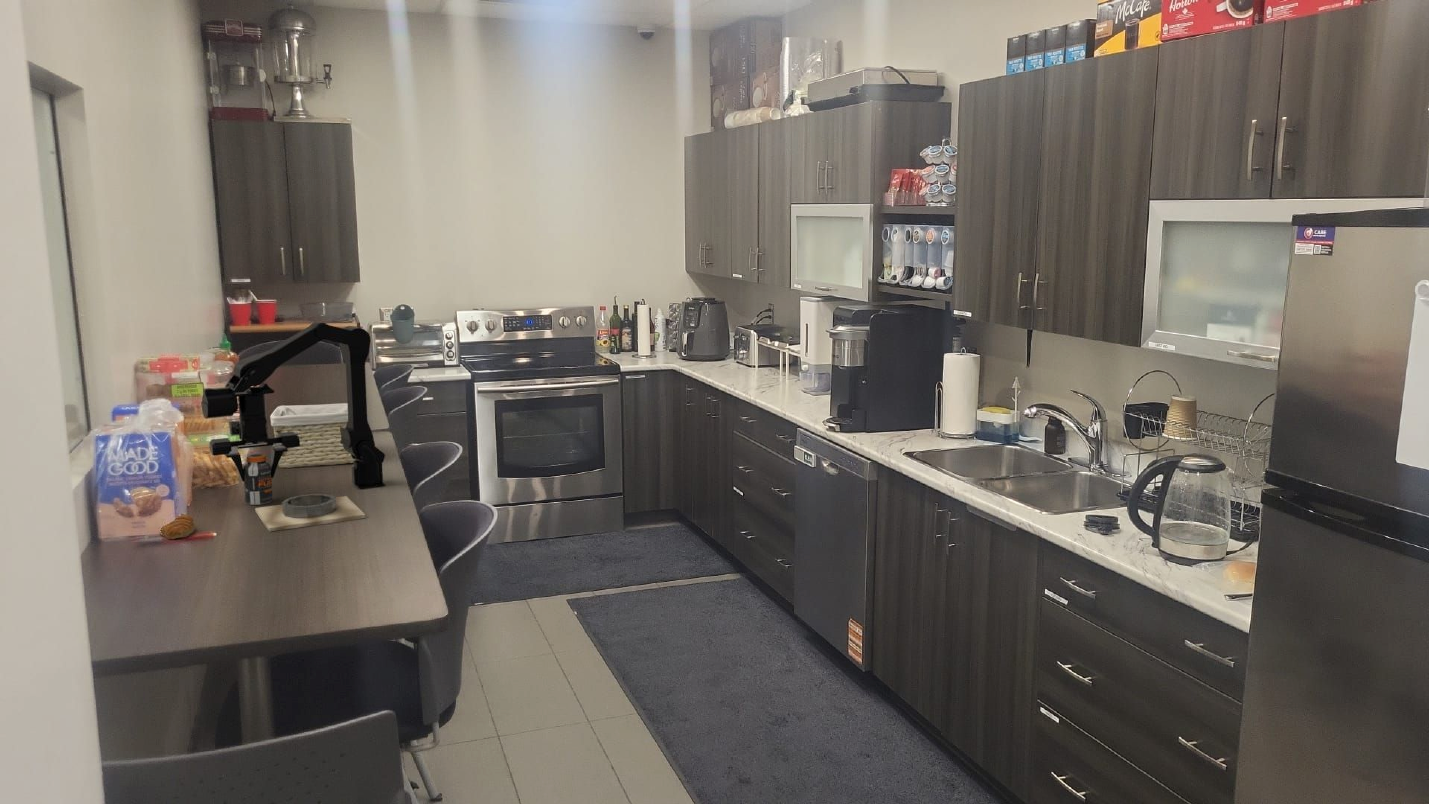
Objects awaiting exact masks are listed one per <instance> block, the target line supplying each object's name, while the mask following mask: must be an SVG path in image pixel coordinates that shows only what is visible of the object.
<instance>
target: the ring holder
mask: <svg viewBox="0 0 1429 804" xmlns="http://www.w3.org/2000/svg"><path fill="white" fill-rule="evenodd" d="M255 513H256V514H257V516H258V517H259V518H260V520H261V521H262V523H263V525H264V526H265V527H266V529H267V531H268V532H269V533H270V532H276V531H283V530H290V529H298V528H304V527H312V526H318V525H320V526H321V525H324V524H327V525H328V524H332V523H339V522H346V521H348V522H349V521H353V520H354V521H355V520H361V519H366V514H365V512H363V511H362V509H360V508H359V507H358V506H357V505H356V504H355V503H354V502H353V501H352V500H351V499H350V498H349V497H348V496H347V495H345V496H337V497H335V496H334V495H330V494H326V493H310V494H308V493H307V494H302V495H295V496H293V497H288V498H286V499H285V500H283V501H282V502H281V504H277V505H276V504H275V505H269V506H260V507H255Z"/></svg>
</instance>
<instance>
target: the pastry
mask: <svg viewBox="0 0 1429 804" xmlns="http://www.w3.org/2000/svg"><path fill="white" fill-rule="evenodd" d="M180 513H181V512H180ZM195 527H196V524H195V523H194V519H193V518H192V517H191V516H190V515H187V514H185V513H183V512H182V513H181V516H178V517H177V518H176V519H175V520H174V521H172V522H170V523H169V524H167V525H165V526H163V527H162V528H161V530H160V531H161V533H162V534H163V536H165V537H166V538H165V537H164V538H165V539H168V540H169V539H170V540H175V539H177V538H188V537H189V536H190V535H191V534H193V533H194V529H195ZM190 533H191V534H190ZM189 534H190V535H189ZM188 535H189V536H188ZM163 536H162V537H163ZM187 536H188V537H187Z"/></svg>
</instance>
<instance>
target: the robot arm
mask: <svg viewBox="0 0 1429 804" xmlns="http://www.w3.org/2000/svg"><path fill="white" fill-rule="evenodd" d="M323 340H325V341H326V340H327V341H329V342H334V343H338V345H339V348H340V353H341V355H342V358H343V361H344V363H345V378H346V397H347V399H346V400H347V401H346V403H348V422H347V425H346V428H343V427H341V428H340V432H341V441H340V443H341V444H343V447H344V449H345V450H346V451H347V452H348V453H350V454H351V456H352V458H353V459H355V460H356V461H354V463H353V466H352V467H351V478H352V479H351V480H352V481H351V482H352V484H353V485H354V486H355V487H356V488H357V489H367V488H375V487H383V486H384V487H385V485H386V483H385V482H384V475H383V463H384V460H385V457H386V454H385V453H384V452H383V451H382V450H380V449H379V448H378V447H377V446H376V444H375V443H376V442H375V439H374V434H373V430H372V428H371V427H370V424H369V421H368V405H367V404H368V403H367V400H368V399H367V379H366V378H367V377H366V375H367V374H366V362H367V359H368V357H369V355H370V348H371V342H372V341H371V340H372V339H371V334H370V333H369V332H368V331H367V330H366V329H364V328H362V327H357V326H351V325H348V326H345V327H338V326H334V325H329V324H328V323H325V322H322V321H314V322H312V323H310V325H309V326H308V327H306V328H305V327H304V328H303V330H301V331H299V332H297V333H295V334H294V335H292V336H291V337H289V338H287V339H285V340H283V341H281V342H280V343H279V344H277V345H274V347H272V348H271V349H269V350H266V351H264V352H260V353H257V354H253V355H250V356H248V357H245V358H243V359H240V360H238V362H236V363H235V365H234V368H233V374H232V376H230V379H229V380H228V381H227V383H225V386H224V387H215V388H212V387H206V388H203V389H202V390H203V392H202V398H201V402H200V403H201V405H200V406H201V412H202V415H203V418H204V419H207V420H208V419H215V418H218V419H219V418H227V417H232V416H234V414H236V413H237V412H238V414H239V421H237V420H234V421H230V422H229V433H230V434H229V435H230V436H231V437H233V436H238V439H239V440H232V441H231V440H230V439H229V438H228V437H225V438H224V437H222V438H215V439H214V438H213V439H211V440H210V441H209V443H208V445H209V452H210V454H211V455H212V456H225V458H227V459H231V461H232V462H233V464H234V465H235V467H236V470H237V472H238V474H239V477H240V479H241V481H242V482H244V471H243V468H244V466H243V461H242V456H241V454H240V452H239V449H250V448H251V449H252V448H261V447H269V446H270V464H269V465H270V466H271V479H273V478H274V477H275V474H276V471H277V468H278V466H279V460H280V458H281V456H282V454H283V452H287V451H288V449H287V448H292V447H299V446H300V439H299V436H298V435H296V434H295V433H294V432H283V433H278V437H275V436H272V437H269V433H268V417H267V403H266V395H268V394H269V395H270V394H274V393H275V390H274V389H272V388H271V387H270V386H269V385H268V383H266V380H267V379H269V378H270V377H271V376H272V375H273V374H274V373H275V371H276V370H277V369H279V368H280V366H282V365H283V364H284V363H287V362H288V361H290V360H291V359H293V358H295V357H296V356H298V355H300V354H301V353H303V352H305V351H306V350H308V349H310V348H311V347H313V346H314V345H316V344H318V343H319V342H322V341H323ZM238 409H239V410H238Z"/></svg>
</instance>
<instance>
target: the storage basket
mask: <svg viewBox="0 0 1429 804" xmlns="http://www.w3.org/2000/svg"><path fill="white" fill-rule="evenodd" d="M269 418H270V426H271V427H272V428H273V434H274V437H278V433H283V432H294V433H295V434H296V435H298V436H299V439H300V446H299V447H292V448H287V449H288V451H287V452H283V454H282V456H281V458H280V460H279V462H278V467H279V468H286V469H287V468H288V469H291V468H298V467H299V468H300V467H303V468H304V467H316V466H335V465H342V464H343V465H345V464H352V463H353V464H354V461H356V460H355V459H353V458H352V456H351V454H350V453H348V452H347V451H346V450H345V449H344V447H343V444H341V443H340V441H341V432H340V428H341V427H343V428H346V425H347V422H348V403H347V402H345V403H344V402H343V403H329V404H328V403H326V404H325V403H324V404H305V405H304V404H299V405H296V404H295V405H278V406H277V407H276V408H274V410H273V411H272V413H271V414H270V417H269Z"/></svg>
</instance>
